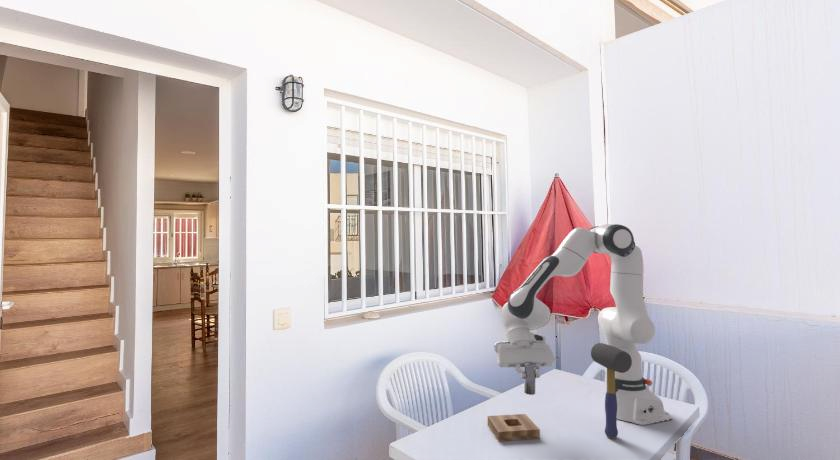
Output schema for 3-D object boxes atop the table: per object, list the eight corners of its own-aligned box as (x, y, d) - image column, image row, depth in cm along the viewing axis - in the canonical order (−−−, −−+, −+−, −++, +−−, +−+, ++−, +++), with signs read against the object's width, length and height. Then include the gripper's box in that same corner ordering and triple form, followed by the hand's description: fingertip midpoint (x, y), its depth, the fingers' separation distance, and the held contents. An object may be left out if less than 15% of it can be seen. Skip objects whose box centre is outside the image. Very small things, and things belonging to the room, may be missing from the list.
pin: (532, 390, 142) (533, 361, 142) (537, 394, 138) (537, 364, 138) (522, 391, 141) (523, 362, 142) (526, 394, 138) (527, 365, 138)
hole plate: (525, 422, 145) (525, 413, 145) (539, 438, 133) (539, 429, 134) (487, 424, 144) (487, 416, 144) (498, 441, 132) (498, 431, 132)
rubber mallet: (635, 445, 129) (634, 350, 130) (615, 447, 128) (614, 351, 128) (608, 427, 142) (607, 340, 142) (589, 429, 140) (588, 342, 141)
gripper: (495, 337, 146) (503, 373, 136) (549, 336, 148) (561, 372, 138) (491, 346, 150) (499, 382, 140) (543, 346, 153) (555, 381, 143)
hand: (530, 377), depth 139 cm, fingers closed on pin, 4 cm apart
